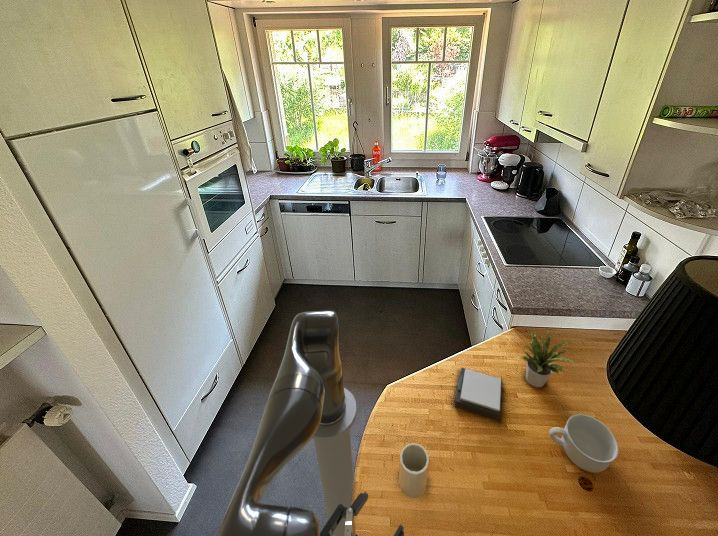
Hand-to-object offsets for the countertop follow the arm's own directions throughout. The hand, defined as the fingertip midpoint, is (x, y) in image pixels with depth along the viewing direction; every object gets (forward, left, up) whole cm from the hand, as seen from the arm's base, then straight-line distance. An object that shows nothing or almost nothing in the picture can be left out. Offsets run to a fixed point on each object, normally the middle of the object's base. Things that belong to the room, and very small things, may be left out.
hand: (383, 510), depth 62 cm
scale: (+15, +39, -9) cm, 42 cm away
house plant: (+32, +50, -9) cm, 60 cm away
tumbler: (+3, +11, -9) cm, 14 cm away
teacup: (+39, +31, -9) cm, 51 cm away
